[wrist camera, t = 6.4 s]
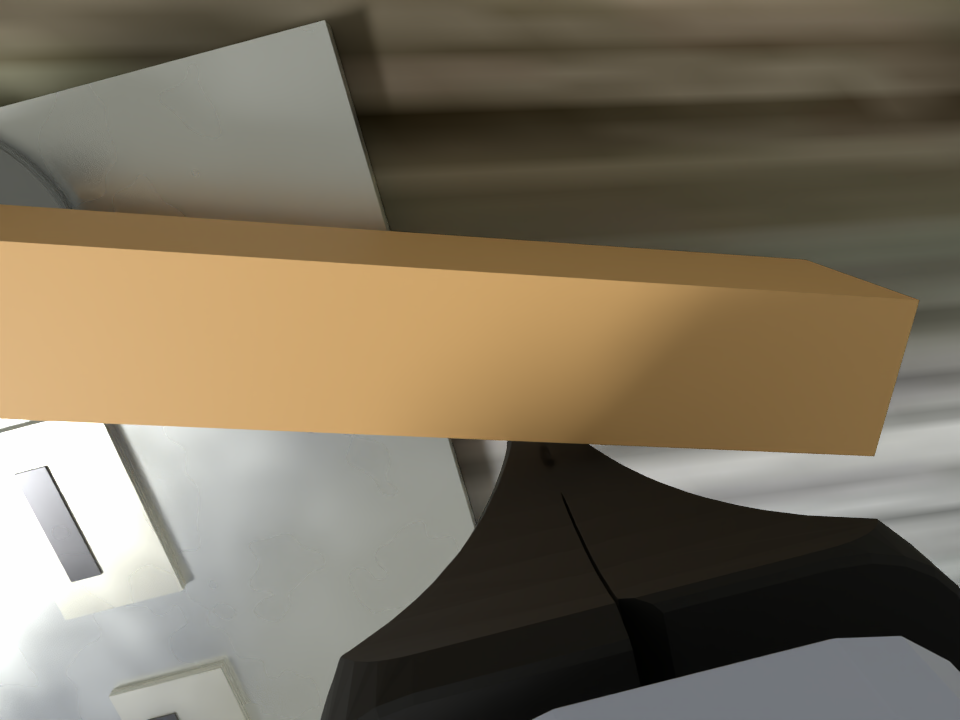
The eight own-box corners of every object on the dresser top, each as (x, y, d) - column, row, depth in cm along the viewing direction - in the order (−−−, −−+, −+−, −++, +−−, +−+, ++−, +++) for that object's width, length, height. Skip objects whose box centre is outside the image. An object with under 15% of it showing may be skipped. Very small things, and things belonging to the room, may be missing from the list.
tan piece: (806, 227, 11) (942, 263, 8) (765, 405, 12) (873, 496, 9) (-212, 153, 10) (-492, 164, 7) (-164, 360, 11) (-390, 448, 8)
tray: (557, 803, 17) (565, 843, 16) (18, 936, 17) (-6, 982, 16) (326, 12, 11) (316, 1, 10) (-495, 232, 11) (-579, 242, 10)
